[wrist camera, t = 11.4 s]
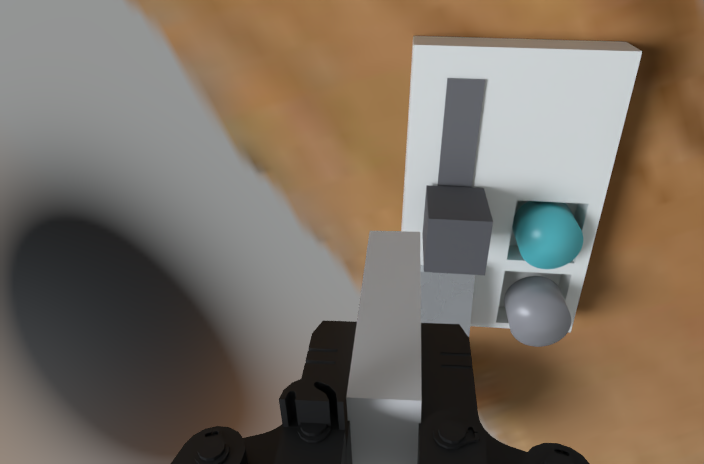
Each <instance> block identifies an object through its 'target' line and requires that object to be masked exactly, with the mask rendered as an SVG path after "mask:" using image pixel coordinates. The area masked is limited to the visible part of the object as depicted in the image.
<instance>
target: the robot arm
mask: <svg viewBox="0 0 704 464" xmlns="http://www.w3.org/2000/svg"><path fill="white" fill-rule="evenodd" d="M279 403H280V410H281V416H282V425H281V426H279V427H277V428H276V429H274V430H272V431H269V432H266V433H263V434H259V435H255V436H250V437H246V438H242V436H241V435H240V434H239V432H237V431H235V430H233V429H231V428H229V427H220V426H216V427H212V428H208V429H204V430H202V431H201V432H199V433H197V434H195V435H193V436H192V437H191V438H190V439H189V440H188V441H187V442H186V443H185V444H184V446H183V447H182V449H181V450H180V451H179V453H178V454H177V456H176V457H175V458H174V460H173V462H172V463H171V464H589V463H588V461H587V460H586V459H585V458H584V457H583V456H582V455H581V454H579V453H578V452H576V451H575V450H573V449H572V448H570V447H567V446H564V445H561V444H558V443H543V444H540V445H537V446H534V447H532V448H531V449H530V450H529V451H528V452H525V451H522V450H519V449H516V448H513V447H510V446H508V445H505V444H503V443H501V442H499V441H498V440H496V439H495V438H493V437H492V436H490V434H489V433H488V432H487V431H486V430H485V429H484V428H483V426H482V424H481V423H480V420H479V416H478V411H477V402H476V394H475V385H474V376H473V369H472V359H471V350H470V342H469V337H468V336H467V334H466V333H465V331H464V330H463V329H462V327H461V326H460V324H442V323H421V266H420V232H407V231H370V233H369V240H368V247H367V254H366V261H365V269H364V276H363V283H362V290H361V297H360V304H359V311H358V318H357V322H346V321H345V322H344V321H322V323H321V324H320V325H319V326H318V327H317V329H316V330H315V331H314V332H313V333H312V336H311V341H310V345H309V351H308V354H307V358H306V363H305V366H304V370H303V375H302V378H301V379H300V380H298V381H295V382H293V383H291V385H289V386H288V387H287V388H286V389H284V390H283V393H282V394H281V396H280V398H279Z"/></svg>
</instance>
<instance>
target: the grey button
mask: <svg viewBox="0 0 704 464" xmlns="http://www.w3.org/2000/svg"><path fill="white" fill-rule="evenodd" d="M504 305H505V309H506V314H507V318H508V322H509V326H510V330H511V333H512V334H513V336H514V337H515V338H516V339H517V340H518V341H520V342H521V343H523V344H526V345H529V346H536V347H540V346H547V345H551V344H553V343H555V342H557V341H559V340H561V339H562V338H563V337H564V336H565V335H566V334H567V333H568V331H569V329H570V327H571V315H570V312H569V310H568V307H567V305H566V302H565V300H564V297H563V295H562V292H561V290H560V288H559V286H558V285H557V284H556V283H555V282H554V281H552V280H550V279H548V278H546V277H542V276H529V277H525V278H522V279H520V280H518V281H516V282H514V283H513V284H512V285H511V286H510V287H509V288H508V290H507V291H506V293H505V296H504Z"/></svg>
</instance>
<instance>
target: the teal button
mask: <svg viewBox="0 0 704 464" xmlns="http://www.w3.org/2000/svg"><path fill="white" fill-rule="evenodd" d="M512 228H513V232H514V235H515V238H516V242H517V245H518V248H519V251H520V254H521V256H522V257H523V259H524V260H525V261H526V262H527V263H528V264H530V265H532V266H534V267H536V268H540V269H555V268H559V267H562V266H564V265H566V264H568V263H570V262H571V261H572V260H574V259H575V258H576V256H577V255H578V254H579V252H580V251H581V249H582V246H583V233H582V231H581V229H580V227H579V225H578V223H577V221H576V219H575V218H574V216H573V214H572V212H571V210H570V208H569V207H568V206H567V205H566V204H565V203H563V202H542V201H528V202H526V203H525V204H523V205H522V206H521V207H520V208H519V209H518V211H517V212H516V214H515V216H514V220H513V226H512Z"/></svg>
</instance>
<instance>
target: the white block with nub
mask: <svg viewBox="0 0 704 464" xmlns="http://www.w3.org/2000/svg"><path fill="white" fill-rule="evenodd" d="M420 266H421V323H442V324H460V326H461V327H462V329H463V330H464V331H465V333H466V334H467V336H468V337H469V332H470V322H471V312H472V302H473V292H474V282H475V275H469V274H451V273H433V272H424V265H420Z"/></svg>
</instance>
